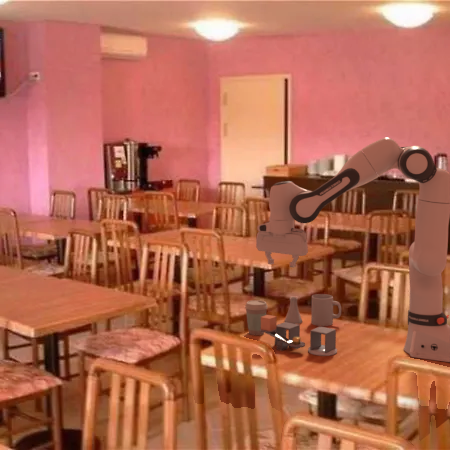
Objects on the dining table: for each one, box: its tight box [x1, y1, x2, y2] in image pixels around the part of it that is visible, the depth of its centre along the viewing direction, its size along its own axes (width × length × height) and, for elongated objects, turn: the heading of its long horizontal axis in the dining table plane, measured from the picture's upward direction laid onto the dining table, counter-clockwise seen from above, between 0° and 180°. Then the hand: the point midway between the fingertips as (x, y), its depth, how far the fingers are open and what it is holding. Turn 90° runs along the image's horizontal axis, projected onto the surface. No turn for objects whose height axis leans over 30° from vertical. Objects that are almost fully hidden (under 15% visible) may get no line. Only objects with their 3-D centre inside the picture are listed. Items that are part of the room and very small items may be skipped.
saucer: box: [307, 344, 338, 357], centre depth 269 cm, size 10×10×1 cm
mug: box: [310, 293, 342, 327], centre depth 305 cm, size 12×8×11 cm
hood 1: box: [274, 321, 301, 349], centre depth 278 cm, size 6×6×7 cm
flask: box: [284, 296, 303, 325], centre depth 308 cm, size 7×7×10 cm
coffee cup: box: [244, 299, 269, 336], centre depth 292 cm, size 8×9×12 cm
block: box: [261, 314, 277, 331], centre depth 275 cm, size 4×4×4 cm
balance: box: [260, 328, 306, 352], centre depth 273 cm, size 18×6×6 cm, turn 51°
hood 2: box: [309, 326, 337, 353], centre depth 269 cm, size 6×6×7 cm
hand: (281, 265), depth 274 cm, fingers open, 8 cm apart
